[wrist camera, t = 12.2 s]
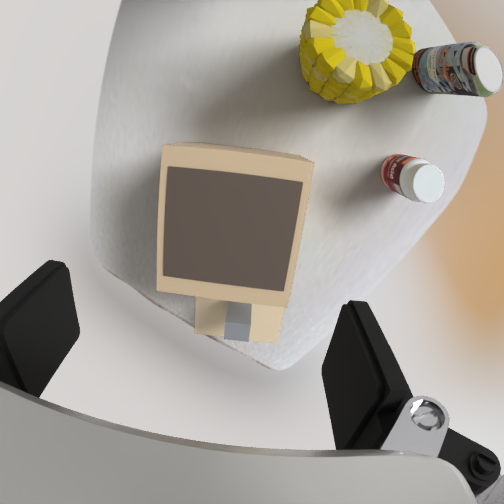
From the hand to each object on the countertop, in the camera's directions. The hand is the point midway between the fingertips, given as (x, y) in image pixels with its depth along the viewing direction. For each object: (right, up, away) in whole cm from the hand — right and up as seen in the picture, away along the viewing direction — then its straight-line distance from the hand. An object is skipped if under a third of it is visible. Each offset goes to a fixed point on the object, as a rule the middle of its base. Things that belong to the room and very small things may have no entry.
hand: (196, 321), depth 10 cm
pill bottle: (+20, +12, +25) cm, 34 cm away
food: (+11, +24, +21) cm, 34 cm away
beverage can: (+24, +25, +21) cm, 40 cm away
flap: (0, -5, +33) cm, 33 cm away
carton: (0, +8, +27) cm, 28 cm away
